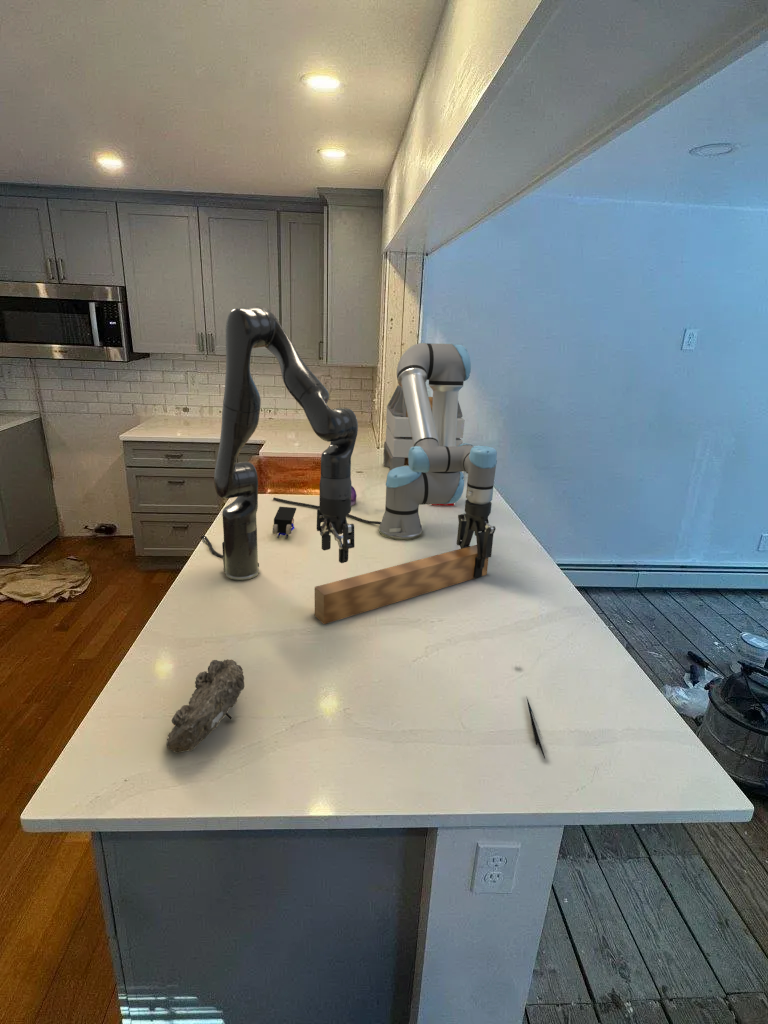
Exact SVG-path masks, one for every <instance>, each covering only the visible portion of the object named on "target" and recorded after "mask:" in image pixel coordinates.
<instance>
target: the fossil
mask: <svg viewBox="0 0 768 1024" xmlns="http://www.w3.org/2000/svg"><path fill="white" fill-rule="evenodd" d="M243 670H244V669H243V667H242V665H240V664H237V662H236V661H235V660H234V659H232V658H231V659H227V658H226V659H224V660H223V661H222V660H217V659H212V660H211V661H210V663H209V665H208V666H207V671H201V672H199V673H198V674H197V675H196V676H195V680H194V684H195V685H194V687H195V689H194V690H193V693H192V694H191V697H190V698H189V700H188V704H184V705H182V706H181V707H180V709H177V710H176V711H175V713H174V715H173V716H172V718H171V723H172V724H173V727H172V730H171V731H170V732H168V734H167V738H166V741H167V742H166V745H167V749H168V750H169V751H173V752H174V753H176V754H178V753H182V752H188V751H189V752H192V751H193V750H195V748H196V747H197V746H199V744H200V743H201V742H203V741H204V740H205V739H206V738H207V737H208V736H209V735H210V734H211V733H212V732H214V730H215V729H217V727H218V726H219V724H220V722H221V721H222V720H223V719H224V718H225V716H226V717H227V719H229V720H233V717H232V715H230V714H229V710H230V709H231V708H234V706H235V704H236V703H237V702H238V699H239V697H240V695H241V693H242V691H243V690H245V689H244V688H245V675H244V671H243Z"/></svg>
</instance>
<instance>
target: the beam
mask: <svg viewBox="0 0 768 1024" xmlns="http://www.w3.org/2000/svg"><path fill="white" fill-rule="evenodd" d="M469 546H470V547H466V548H462V549H461V548H457V549H455V550H451V551H447V552H444V553H440V554H435V555H432V556H428V557H424V558H420V559H416V560H413V561H408V562H405V563H400V564H397V565H392V566H389V567H385V568H381V569H378V570H374V571H370V572H366V573H363V574H358V575H355V576H351V577H346V578H344V579H340V580H339V579H338V580H336V581H332V582H327V583H325V584H321V585H316V586H314V617H315V618H316V619H318V621H320V622H321V623H322V624H323V625H327V624H330V623H333V622H336V621H340V620H343V619H347V618H350V617H353V616H356V615H360V614H362V613H366V612H368V611H372V610H376V609H379V608H382V607H385V606H389V605H393V604H395V603H399V602H402V601H406V600H409V599H412V598H415V597H418V596H422V595H425V594H429V593H431V592H435V591H438V590H441V589H444V588H448V587H451V586H454V585H457V584H461V583H464V582H468V581H471V580H474V579H475V578H474V567H475V558H476V557H478V553H477V544H474V545H469ZM489 559H490V558H486V559H485V565H484V568H483V570H482V576H481V577H484V576H487V575H488V567H489Z"/></svg>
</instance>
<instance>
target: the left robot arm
mask: <svg viewBox="0 0 768 1024" xmlns="http://www.w3.org/2000/svg"><path fill="white" fill-rule="evenodd" d="M257 348H265V349H267V350H268V351H269V352H270V353H271V354H272V355H273V356H274V357H275V359H276V360H277V362H278V365H279V368H280V373H281V374H280V375H281V378H282V381H283V384H284V386H285V388H286V390H287V391H288V392H289V394H290V395H291V396H292V397H293V399H294V400H295V401H296V402H297V403H298V405H299V406H300V407H301V408H302V409H303V412H304V414H305V416H306V418H307V420H308V422H309V425H310V427H311V428H312V430H313V432H314V434H315V435H316V436H317V437H318V438H320V439H321V440H323V441H325V442H326V443H327V442H329V445H328V447H327V448H326V449H325V450H323V451H322V452H321V455H320V478H319V479H320V480H319V505H318V506H319V508H316V532H319V535H320V537H321V550H322V551H328V550H329V551H330V550H331V543H332V542H331V541H332V539H331V538H332V536H333V538H334V540H335V541H336V543H337V545H338V563H340V564H344V563H348V561H349V549H354V548H355V523H348V521H347V517H348V516H347V515H348V514H350V513H351V512H352V506H351V486H352V477H351V476H352V475H351V474H352V455H353V452H354V449H355V446H356V441H357V438H358V432H359V422H358V418H357V416H356V414H355V412H354V410H352V409H350V408H349V407H344V406H343V407H337V408H331V407H329V406H328V402H329V400H330V393H329V391H328V390H327V388H326V386H325V385H324V384H323V383H322V382H321V381H320V379H319V378H318V377H317V376H316V375H315V374H314V372H313V371H312V370H311V369H310V368H309V367H308V365H307V364H306V363H305V361H304V360H303V359H302V357H301V356H300V354H299V352H298V351H297V349H296V348H295V346H294V344H293V342H292V341H291V339H290V338H289V336H288V334H287V332H286V331H285V329H284V328H283V326H282V324H281V323H280V321H279V320H278V318H277V317H276V316H275V313H273V312H272V311H271V310H270V309H268V307H264V306H243V307H236V308H233V309H232V310H230V312H229V314H228V315H227V318H226V324H225V377H224V379H225V381H224V392H223V400H222V412H221V428H220V437H219V445H218V451H217V456H216V461H215V465H214V466H215V467H214V473H213V483H214V484H213V486H214V490H215V492H216V494H217V495H218V497H219V498H222V499H233V498H235V499H234V501H232V502H231V503H229V504H228V505H226V506H225V507H224V508H223V509H222V512H221V513H222V514H221V516H222V529H223V530H222V531H223V532H222V533H223V541H222V543H221V545H222V547H221V548H222V554H221V553H219V552H217V551H216V550H215V549H214V548H213V544H212V542H211V541H210V540H209V538H208V537H207V536H206V535H202V536H201V537H200V539H201V540H203V539H204V540H205V542H206V543H207V545H208V547H209V550H210V552H211V553H213V554H214V555H215V556H217V557H219V558H221V559H222V565H223V573H225V577H226V578H227V579H230V580H233V581H248V580H251V579H254V578H255V577H257V576H258V575H259V574H260V573H259V571H260V570H259V568H260V563H259V550H258V549H259V548H258V526H257V513H258V507H259V477H258V471H257V469H256V467H255V465H254V464H253V463H252V462H251V461H239V462H237V459H238V458H239V455H240V453H241V451H242V449H243V448H244V447H245V446H246V444H247V443H248V441H249V440H250V438H251V437H252V436H253V434H254V433H255V431H256V430H257V428H258V426H259V422H260V413H261V407H262V399H261V395H260V391H259V389H258V387H257V386H256V383H255V381H254V379H253V376H252V374H251V357H252V350H253V349H257ZM331 534H332V535H331ZM204 537H205V538H204Z"/></svg>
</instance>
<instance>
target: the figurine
mask: <svg viewBox="0 0 768 1024" xmlns="http://www.w3.org/2000/svg"><path fill="white" fill-rule="evenodd" d="M356 502H357V491H356V489H355V487H354V486H353V485H351V507H352V506H354V505H355V504H356Z"/></svg>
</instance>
